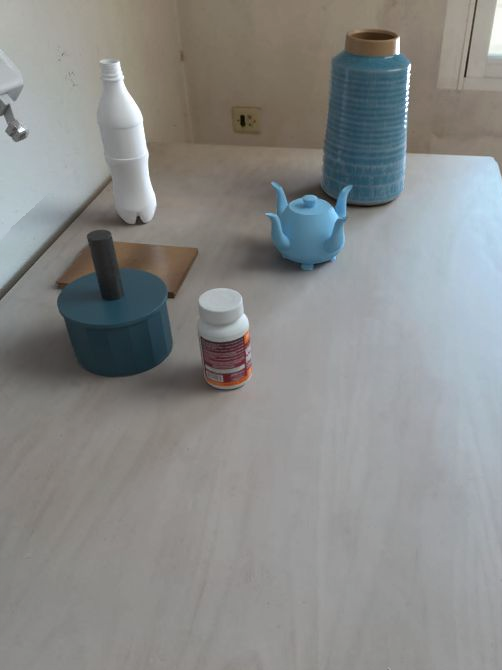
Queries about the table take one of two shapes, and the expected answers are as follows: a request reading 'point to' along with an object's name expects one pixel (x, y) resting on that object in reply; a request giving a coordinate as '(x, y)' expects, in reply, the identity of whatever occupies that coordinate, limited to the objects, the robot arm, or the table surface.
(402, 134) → the vase
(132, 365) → the pot
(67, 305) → the lid
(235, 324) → the pill bottle
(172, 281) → the mat
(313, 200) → the teapot
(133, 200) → the water bottle
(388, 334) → the table surface
